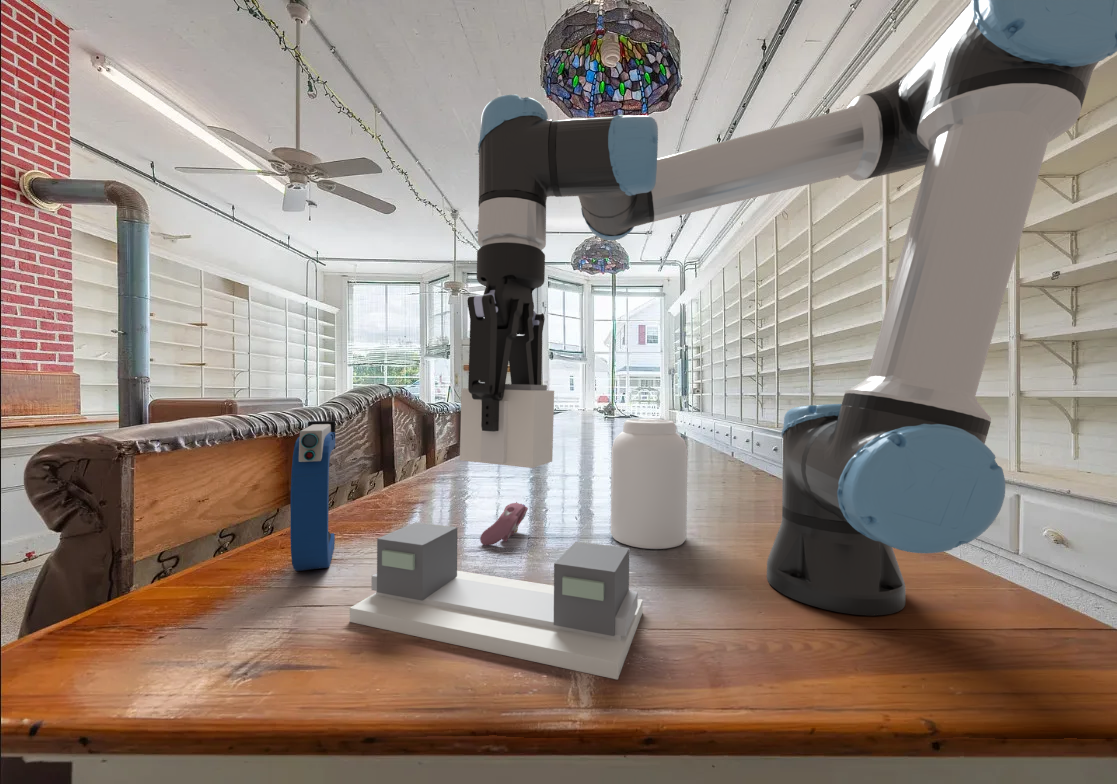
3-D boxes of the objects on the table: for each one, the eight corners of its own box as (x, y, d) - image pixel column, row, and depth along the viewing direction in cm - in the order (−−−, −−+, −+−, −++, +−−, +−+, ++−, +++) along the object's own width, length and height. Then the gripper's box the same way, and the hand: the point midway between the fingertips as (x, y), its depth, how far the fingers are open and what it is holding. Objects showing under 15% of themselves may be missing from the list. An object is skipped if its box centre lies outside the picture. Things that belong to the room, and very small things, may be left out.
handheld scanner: (338, 542, 76) (336, 419, 76) (329, 580, 61) (327, 428, 61) (306, 545, 75) (304, 421, 74) (289, 586, 60) (286, 429, 59)
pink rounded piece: (500, 557, 75) (520, 519, 74) (476, 542, 75) (495, 504, 75) (518, 538, 84) (535, 504, 84) (496, 525, 85) (513, 491, 84)
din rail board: (642, 612, 53) (643, 540, 53) (617, 679, 41) (618, 586, 41) (422, 576, 63) (423, 515, 63) (349, 621, 51) (350, 545, 51)
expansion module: (484, 454, 57) (485, 383, 57) (552, 461, 54) (554, 385, 54) (459, 460, 53) (461, 382, 53) (532, 468, 49) (534, 384, 49)
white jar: (608, 526, 86) (609, 416, 86) (677, 528, 86) (679, 417, 86) (613, 550, 74) (614, 421, 74) (694, 552, 73) (696, 422, 73)
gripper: (519, 270, 63) (515, 447, 63) (432, 227, 46) (427, 467, 46) (572, 266, 60) (567, 451, 60) (500, 218, 43) (494, 474, 43)
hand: (506, 457), depth 53 cm, fingers closed on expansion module, 5 cm apart
